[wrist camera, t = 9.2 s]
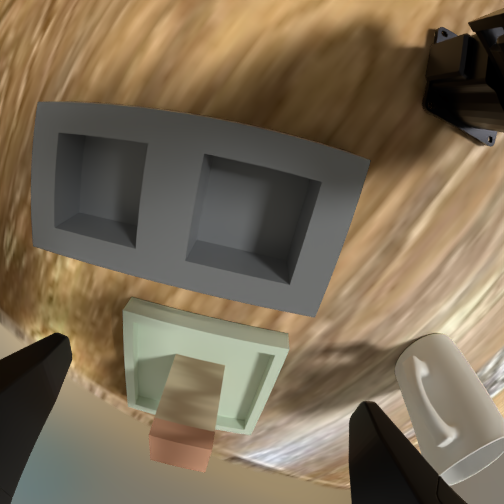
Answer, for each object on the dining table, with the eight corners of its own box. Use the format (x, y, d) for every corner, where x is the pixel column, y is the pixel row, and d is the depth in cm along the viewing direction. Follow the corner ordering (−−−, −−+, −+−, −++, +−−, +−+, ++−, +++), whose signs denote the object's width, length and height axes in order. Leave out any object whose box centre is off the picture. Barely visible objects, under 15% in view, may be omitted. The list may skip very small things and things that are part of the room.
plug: (225, 365, 23) (211, 450, 16) (217, 394, 25) (205, 472, 18) (176, 353, 23) (148, 434, 16) (173, 384, 25) (150, 459, 17)
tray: (288, 333, 22) (289, 349, 21) (251, 420, 27) (250, 435, 26) (131, 296, 22) (122, 310, 20) (133, 393, 27) (128, 406, 25)
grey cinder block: (349, 151, 17) (370, 160, 13) (307, 282, 21) (314, 317, 17) (74, 101, 16) (37, 101, 12) (64, 225, 20) (33, 246, 16)
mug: (464, 349, 23) (519, 442, 12) (413, 392, 25) (449, 490, 14) (417, 297, 21) (492, 417, 10) (354, 353, 23) (390, 483, 12)
